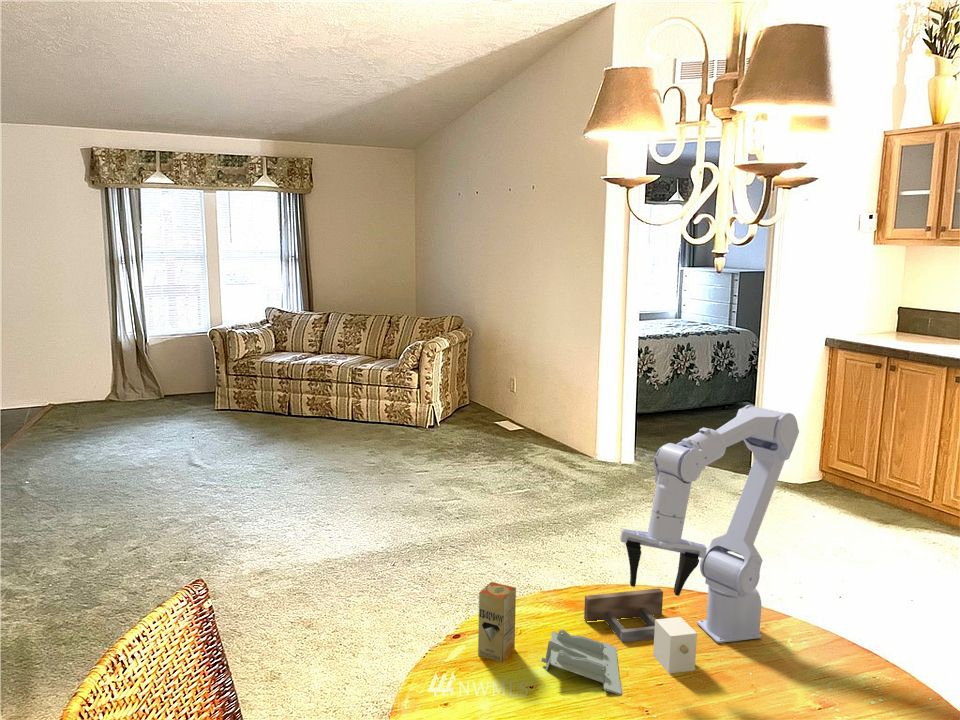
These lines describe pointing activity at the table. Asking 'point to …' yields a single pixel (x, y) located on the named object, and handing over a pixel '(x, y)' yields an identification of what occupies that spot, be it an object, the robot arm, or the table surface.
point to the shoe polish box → (496, 621)
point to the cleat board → (626, 611)
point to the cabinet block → (675, 645)
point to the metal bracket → (585, 659)
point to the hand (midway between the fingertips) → (654, 589)
